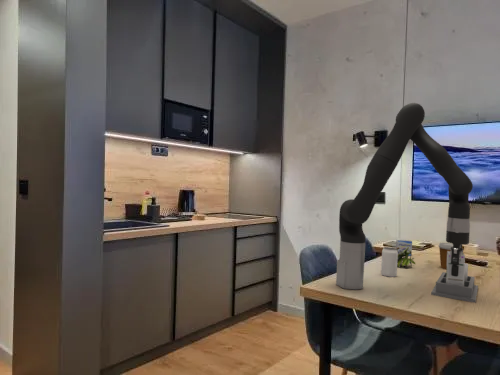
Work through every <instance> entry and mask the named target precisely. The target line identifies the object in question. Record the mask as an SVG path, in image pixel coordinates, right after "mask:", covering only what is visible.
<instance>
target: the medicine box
mask: <svg viewBox="0 0 500 375" xmlns="http://www.w3.org/2000/svg"><path fill="white" fill-rule="evenodd" d="M395 243H396V244H395V248H397V247H399V249H398V250H397V251H400V250H402V249H404V248H406V249H407V247H409V248H408V250H407V252H409V251H410V250H411V252H413V251H412V250H413V241H412V240H409V239H408V240H406V239H396V242H395ZM409 253H410V252H409ZM410 255H411V256H412V255H413V253H412V254H409V255H408V257H410Z"/></svg>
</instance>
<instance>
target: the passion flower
mask: <svg viewBox="0 0 500 375" xmlns="http://www.w3.org/2000/svg"><path fill="white" fill-rule="evenodd" d="M395 248H396V247H395ZM408 248H409V247H407V249H406V248H404V249H402V250H400V251H397V252H398V259H397V268H399V269H400V268H401V267H402V268H403V267H405V266H406V267H407V266H409V265H410V268H412V266H413V265H416V262H415V261H414V259H415V257H412V255H413V253H412V252H413V251H412V252H411V250H410V251H409V252H410V253H409V252H407V250H408ZM396 249H397V250H398V249H399V247H397V248H396ZM409 254H412V255H410V256H408V255H409ZM412 264H413V265H412Z"/></svg>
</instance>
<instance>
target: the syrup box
mask: <svg viewBox="0 0 500 375" xmlns="http://www.w3.org/2000/svg"><path fill="white" fill-rule="evenodd" d="M450 257H451V252H450V251H447V269H445V270H446V272H445V273H446V283H447V284H453V285H459V286H464V274H465V262H466V255H465V252H463V254H462V255H461V261H459V264H460V265H459V270H458V276H457V277H456V276H452V275H451V269H452V265H451V258H450ZM459 257H460V255H459ZM454 261H456V260H454ZM456 262H457V261H456Z"/></svg>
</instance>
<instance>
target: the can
mask: <svg viewBox="0 0 500 375" xmlns="http://www.w3.org/2000/svg"><path fill="white" fill-rule="evenodd" d="M397 259H398V252H397V249H396V247H390V246H384V247H383V249H382V251H381V264H380V266H381V267H380V274H381V276H383V277H387V278H396V277H397V276H398V263H397Z"/></svg>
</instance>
